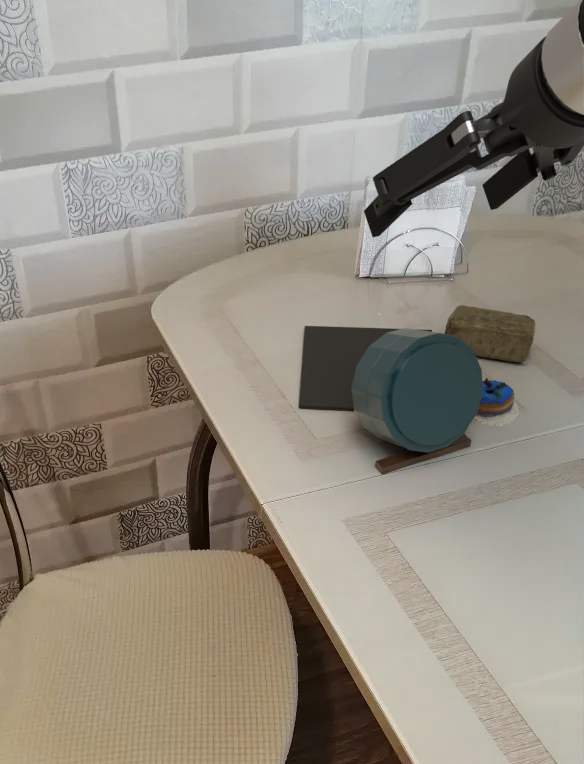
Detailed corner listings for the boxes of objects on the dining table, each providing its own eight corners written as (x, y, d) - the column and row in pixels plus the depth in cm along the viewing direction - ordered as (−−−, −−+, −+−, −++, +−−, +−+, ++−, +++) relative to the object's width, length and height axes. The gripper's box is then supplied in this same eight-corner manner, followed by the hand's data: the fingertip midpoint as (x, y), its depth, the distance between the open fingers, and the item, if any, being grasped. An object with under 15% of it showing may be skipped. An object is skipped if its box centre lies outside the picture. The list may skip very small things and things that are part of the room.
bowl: (502, 406, 90) (463, 396, 97) (458, 310, 85) (420, 306, 91) (416, 476, 89) (382, 461, 95) (365, 382, 83) (333, 373, 90)
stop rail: (461, 443, 94) (464, 433, 93) (469, 450, 93) (472, 440, 92) (374, 470, 91) (375, 460, 90) (381, 478, 90) (382, 468, 89)
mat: (431, 332, 113) (431, 329, 113) (444, 415, 99) (445, 411, 98) (304, 328, 115) (304, 325, 115) (298, 408, 101) (298, 405, 100)
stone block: (526, 367, 106) (535, 334, 102) (439, 353, 109) (444, 320, 106) (531, 346, 110) (539, 313, 106) (446, 332, 113) (452, 301, 110)
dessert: (495, 382, 102) (517, 364, 96) (515, 429, 101) (537, 414, 95) (439, 398, 101) (457, 381, 95) (458, 446, 100) (477, 432, 94)
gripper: (452, 152, 54) (331, 273, 74) (728, 95, 60) (547, 220, 81) (417, 49, 54) (306, 197, 74) (696, 3, 61) (523, 151, 81)
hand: (431, 210), depth 78 cm, fingers open, 13 cm apart
